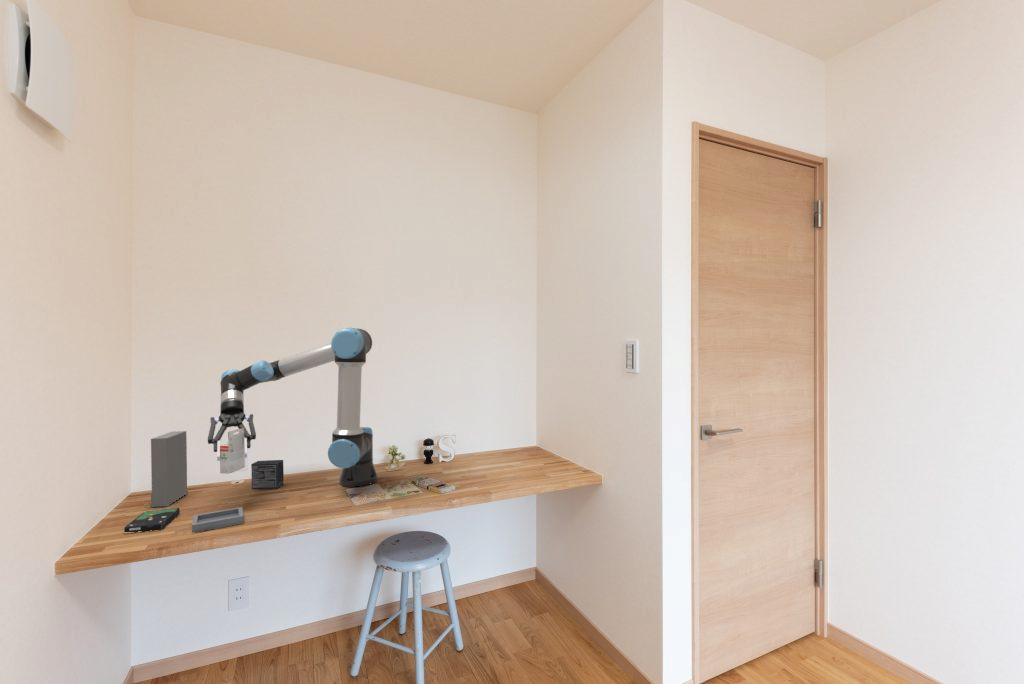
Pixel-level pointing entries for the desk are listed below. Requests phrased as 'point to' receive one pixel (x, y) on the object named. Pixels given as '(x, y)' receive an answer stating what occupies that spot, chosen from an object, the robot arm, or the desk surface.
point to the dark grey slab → (168, 468)
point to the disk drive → (152, 520)
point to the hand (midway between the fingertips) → (232, 457)
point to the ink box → (233, 453)
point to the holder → (217, 519)
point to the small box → (267, 474)
